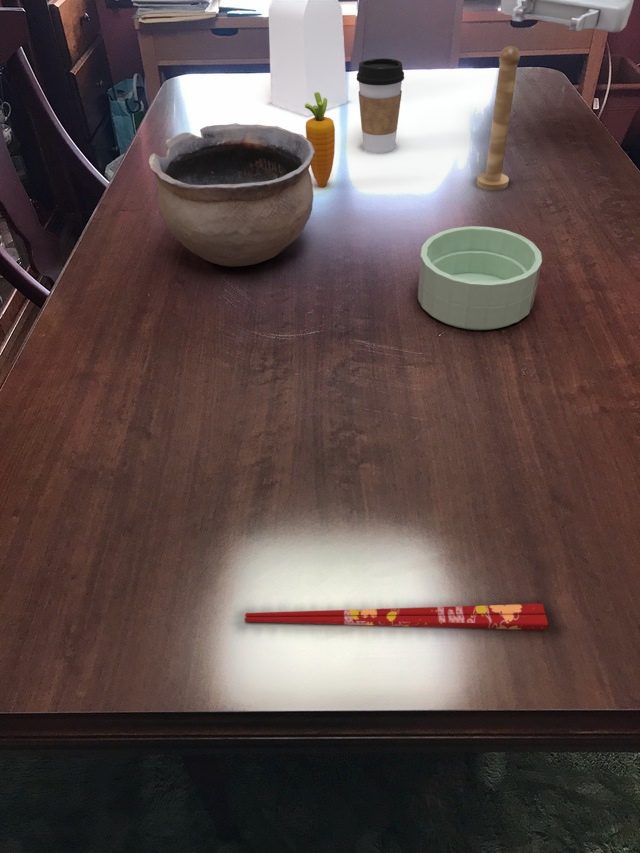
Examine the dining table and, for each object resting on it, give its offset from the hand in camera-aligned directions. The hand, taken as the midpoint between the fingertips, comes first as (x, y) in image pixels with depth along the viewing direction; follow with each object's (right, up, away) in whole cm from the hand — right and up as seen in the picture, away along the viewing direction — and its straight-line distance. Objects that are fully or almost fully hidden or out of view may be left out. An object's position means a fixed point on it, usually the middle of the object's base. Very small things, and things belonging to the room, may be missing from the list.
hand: (545, 20), depth 106 cm
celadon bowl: (-15, -46, -16) cm, 51 cm away
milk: (-37, +7, +44) cm, 58 cm away
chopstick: (-29, -78, -50) cm, 98 cm away
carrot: (-34, -22, +12) cm, 42 cm away
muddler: (-6, -22, +10) cm, 25 cm away
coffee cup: (-24, -10, +24) cm, 35 cm away
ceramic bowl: (-46, -37, -4) cm, 59 cm away
